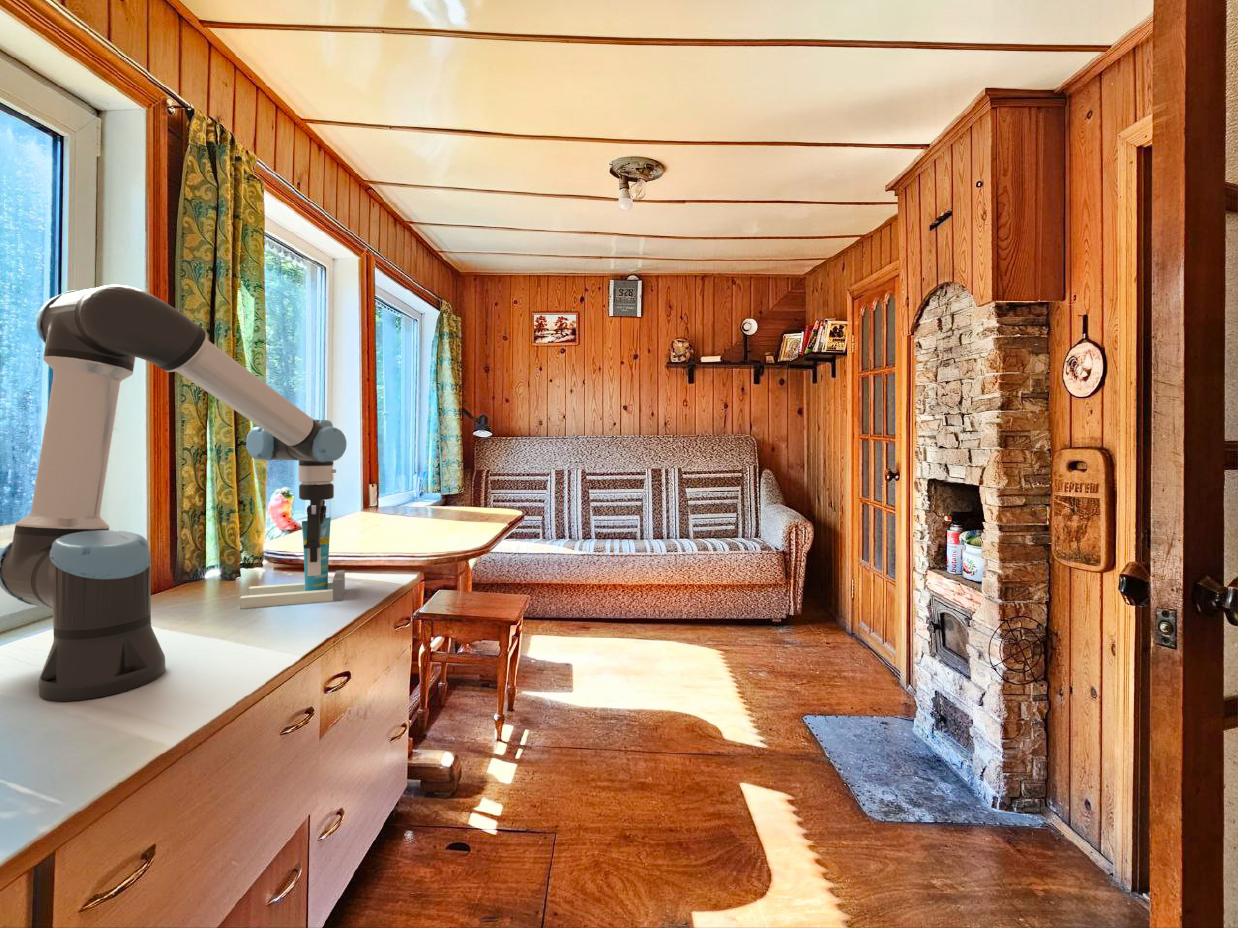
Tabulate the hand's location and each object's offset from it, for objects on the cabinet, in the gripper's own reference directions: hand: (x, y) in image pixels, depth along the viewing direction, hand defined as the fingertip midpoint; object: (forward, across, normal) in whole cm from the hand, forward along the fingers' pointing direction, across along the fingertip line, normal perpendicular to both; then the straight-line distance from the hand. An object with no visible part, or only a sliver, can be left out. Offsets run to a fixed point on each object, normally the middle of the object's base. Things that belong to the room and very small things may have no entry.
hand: (317, 569), depth 144 cm
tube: (+7, 0, 0) cm, 7 cm away
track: (+7, 0, +5) cm, 8 cm away
